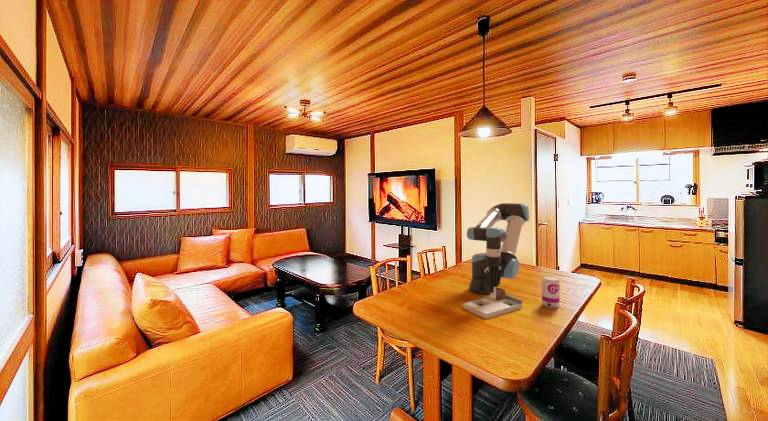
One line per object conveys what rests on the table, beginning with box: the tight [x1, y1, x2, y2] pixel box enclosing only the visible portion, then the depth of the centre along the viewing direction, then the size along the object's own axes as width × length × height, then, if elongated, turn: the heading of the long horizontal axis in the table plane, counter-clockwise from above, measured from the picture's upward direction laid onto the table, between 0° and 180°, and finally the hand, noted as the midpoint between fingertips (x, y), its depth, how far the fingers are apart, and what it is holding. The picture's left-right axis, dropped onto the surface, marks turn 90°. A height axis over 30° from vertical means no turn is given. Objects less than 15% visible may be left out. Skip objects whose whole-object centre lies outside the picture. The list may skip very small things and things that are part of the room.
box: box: [462, 293, 523, 320], centre depth 162 cm, size 26×16×4 cm, turn 118°
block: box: [496, 287, 506, 301], centre depth 169 cm, size 5×5×5 cm
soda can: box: [541, 276, 561, 309], centre depth 163 cm, size 8×8×15 cm
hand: (493, 297), depth 167 cm, fingers closed
